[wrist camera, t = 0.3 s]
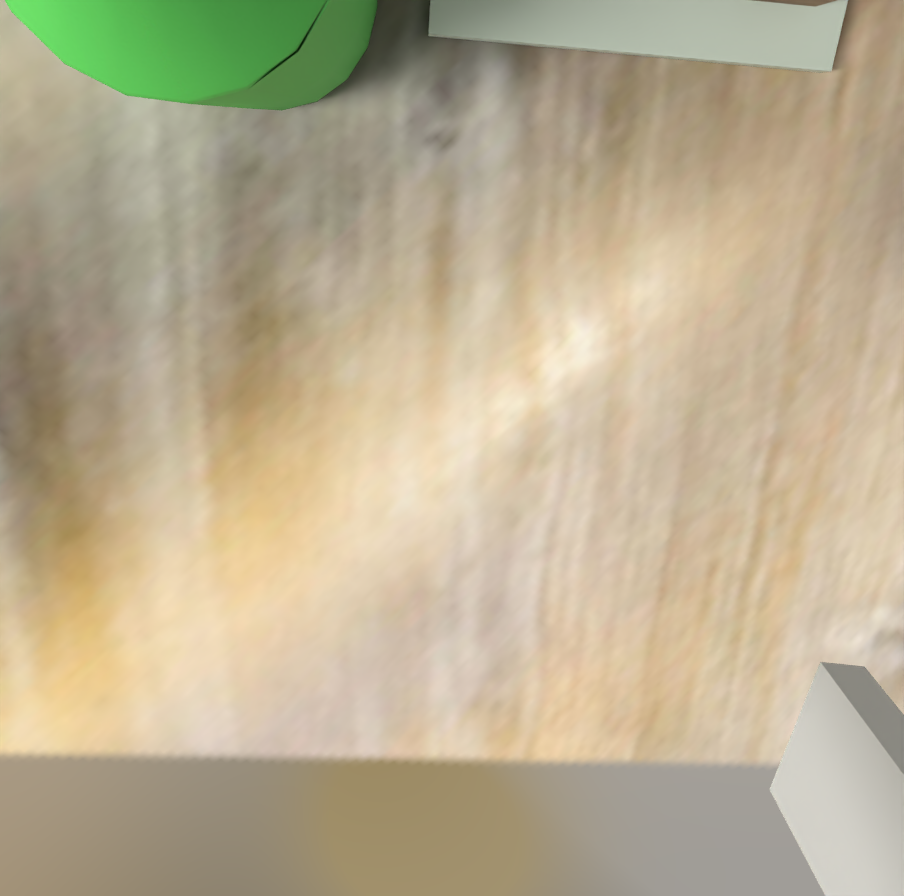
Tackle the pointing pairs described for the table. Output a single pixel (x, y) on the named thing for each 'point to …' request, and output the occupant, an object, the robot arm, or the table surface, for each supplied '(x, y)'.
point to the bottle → (208, 46)
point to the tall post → (800, 2)
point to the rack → (655, 28)
